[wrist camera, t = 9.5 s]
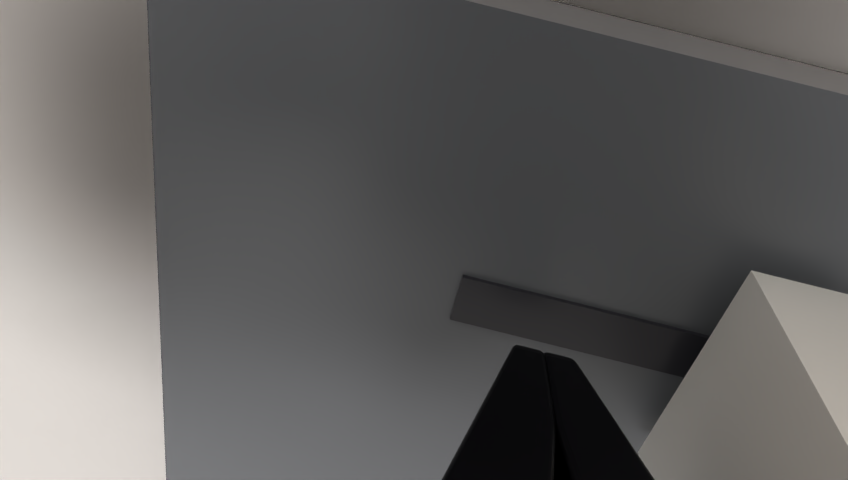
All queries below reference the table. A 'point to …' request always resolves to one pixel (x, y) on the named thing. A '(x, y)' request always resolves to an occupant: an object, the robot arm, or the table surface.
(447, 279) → the console
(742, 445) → the fader
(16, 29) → the table surface
